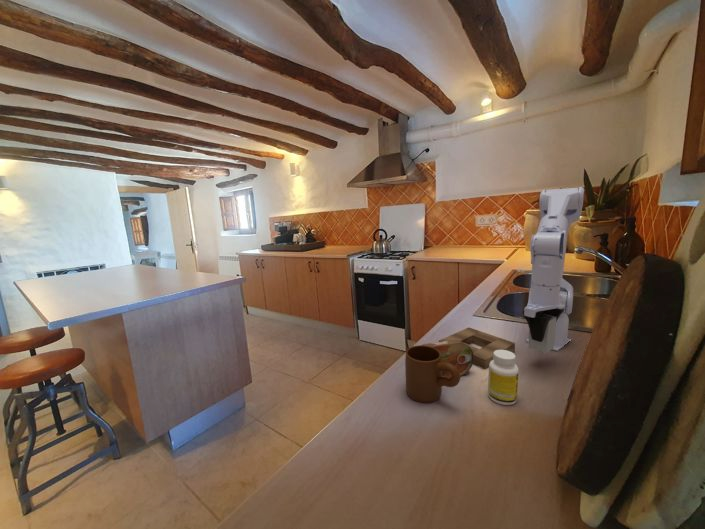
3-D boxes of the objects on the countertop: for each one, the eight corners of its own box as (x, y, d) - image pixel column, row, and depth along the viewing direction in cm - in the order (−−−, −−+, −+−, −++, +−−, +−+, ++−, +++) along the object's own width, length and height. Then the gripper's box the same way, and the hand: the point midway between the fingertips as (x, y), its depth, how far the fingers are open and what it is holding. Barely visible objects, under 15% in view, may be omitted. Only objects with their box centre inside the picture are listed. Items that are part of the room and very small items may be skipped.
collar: (468, 334, 90) (468, 327, 89) (514, 351, 78) (515, 342, 78) (438, 348, 82) (438, 340, 82) (485, 369, 71) (485, 360, 70)
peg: (535, 342, 73) (538, 312, 72) (553, 348, 70) (556, 316, 69) (528, 347, 71) (530, 316, 70) (546, 353, 68) (548, 321, 66)
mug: (468, 400, 60) (469, 359, 58) (449, 420, 55) (450, 374, 53) (418, 378, 68) (418, 341, 67) (398, 393, 63) (397, 353, 62)
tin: (414, 383, 67) (413, 350, 65) (409, 376, 70) (408, 343, 68) (474, 374, 69) (475, 341, 67) (467, 367, 72) (467, 336, 70)
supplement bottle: (521, 407, 57) (523, 361, 55) (491, 404, 58) (493, 360, 56) (511, 390, 62) (514, 348, 60) (484, 388, 63) (486, 347, 62)
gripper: (550, 293, 60) (546, 353, 63) (578, 280, 68) (573, 334, 71) (516, 287, 66) (513, 342, 69) (545, 275, 74) (541, 325, 77)
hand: (541, 337), depth 70 cm, fingers closed on peg, 4 cm apart
